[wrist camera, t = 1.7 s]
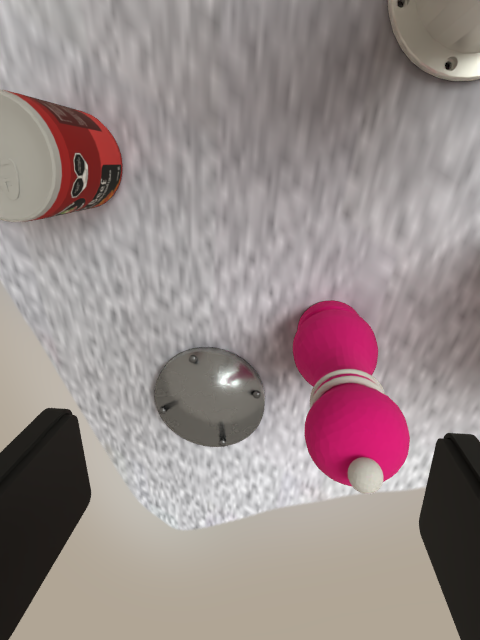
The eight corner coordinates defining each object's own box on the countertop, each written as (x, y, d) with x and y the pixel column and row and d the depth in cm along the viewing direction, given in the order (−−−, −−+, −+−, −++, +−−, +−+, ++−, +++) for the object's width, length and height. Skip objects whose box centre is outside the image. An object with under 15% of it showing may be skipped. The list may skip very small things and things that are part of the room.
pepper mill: (324, 374, 39) (355, 558, 21) (277, 326, 38) (266, 478, 19) (382, 333, 37) (476, 499, 18) (334, 279, 35) (384, 402, 17)
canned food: (74, 220, 36) (-9, 240, 26) (27, 135, 34) (-85, 122, 24) (141, 186, 34) (80, 194, 24) (96, 94, 32) (7, 61, 22)
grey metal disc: (248, 336, 39) (247, 343, 37) (276, 431, 43) (276, 440, 41) (142, 358, 41) (137, 365, 40) (178, 446, 45) (174, 455, 44)
